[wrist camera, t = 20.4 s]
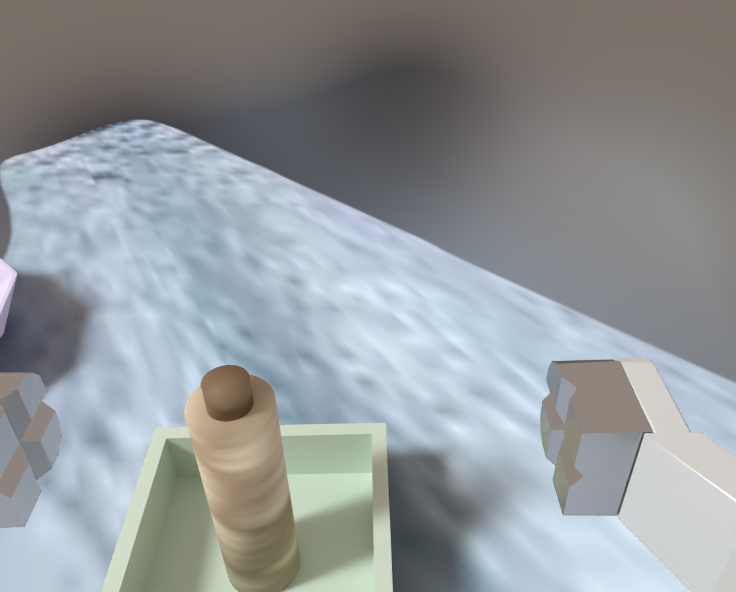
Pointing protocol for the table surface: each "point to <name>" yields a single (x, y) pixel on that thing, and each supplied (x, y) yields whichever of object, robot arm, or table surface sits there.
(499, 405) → the table surface
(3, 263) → the fruit bowl
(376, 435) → the bin
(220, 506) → the pepper mill
